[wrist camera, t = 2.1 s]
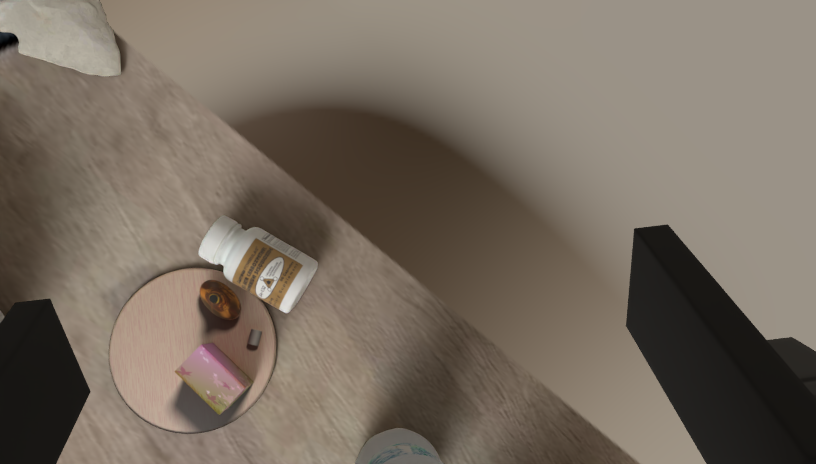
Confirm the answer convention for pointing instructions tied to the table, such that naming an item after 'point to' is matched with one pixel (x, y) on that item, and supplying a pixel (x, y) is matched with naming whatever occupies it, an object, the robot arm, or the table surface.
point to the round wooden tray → (192, 351)
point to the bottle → (398, 449)
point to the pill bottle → (259, 262)
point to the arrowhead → (63, 33)
